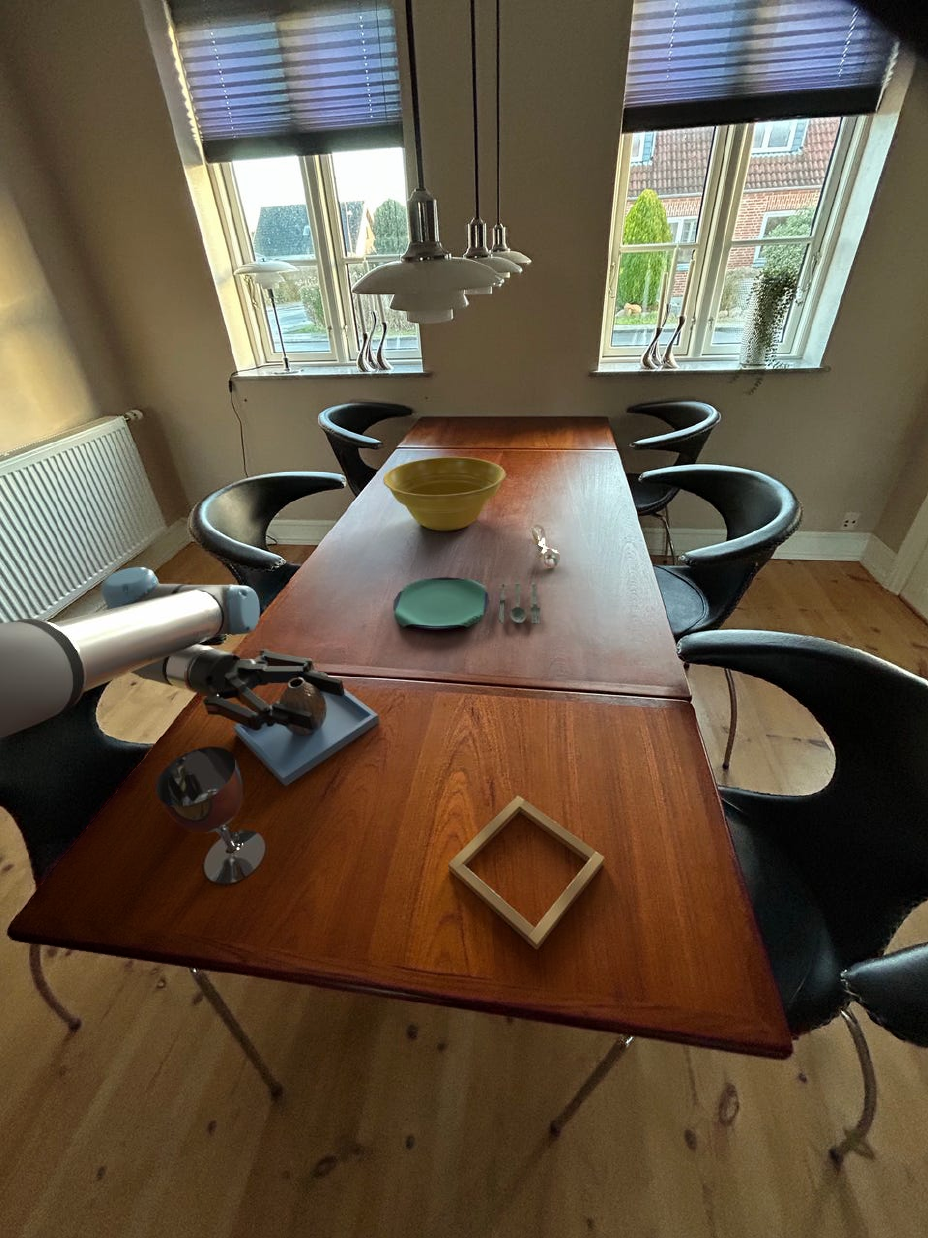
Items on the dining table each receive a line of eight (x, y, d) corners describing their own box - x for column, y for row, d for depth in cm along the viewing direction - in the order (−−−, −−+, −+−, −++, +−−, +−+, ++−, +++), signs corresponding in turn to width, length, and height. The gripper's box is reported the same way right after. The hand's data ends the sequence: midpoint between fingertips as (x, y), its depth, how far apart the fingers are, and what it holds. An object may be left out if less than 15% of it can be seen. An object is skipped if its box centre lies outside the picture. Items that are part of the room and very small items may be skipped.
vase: (301, 706, 86) (289, 664, 81) (338, 715, 84) (328, 672, 79) (275, 736, 80) (261, 693, 76) (314, 746, 78) (302, 703, 73)
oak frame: (536, 950, 55) (537, 945, 54) (448, 869, 62) (447, 864, 62) (603, 863, 62) (604, 857, 62) (517, 801, 70) (518, 795, 69)
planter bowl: (405, 498, 163) (400, 454, 155) (510, 501, 158) (510, 456, 150) (373, 544, 136) (366, 494, 129) (498, 549, 131) (498, 497, 124)
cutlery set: (402, 583, 119) (401, 575, 117) (537, 585, 116) (537, 575, 115) (385, 635, 102) (384, 626, 101) (541, 638, 100) (542, 628, 99)
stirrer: (528, 518, 137) (546, 517, 137) (527, 530, 139) (545, 529, 139) (542, 558, 121) (562, 556, 121) (541, 571, 123) (561, 570, 123)
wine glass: (185, 876, 63) (137, 795, 54) (229, 820, 69) (193, 740, 61) (241, 896, 61) (200, 814, 52) (281, 836, 67) (251, 755, 58)
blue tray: (285, 786, 73) (282, 778, 72) (236, 734, 82) (233, 726, 81) (379, 722, 83) (378, 714, 82) (326, 681, 92) (324, 674, 91)
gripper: (254, 653, 94) (366, 682, 87) (165, 730, 79) (291, 772, 72) (242, 618, 90) (359, 645, 83) (146, 692, 75) (279, 733, 68)
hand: (327, 704), depth 77 cm, fingers closed on vase, 7 cm apart
